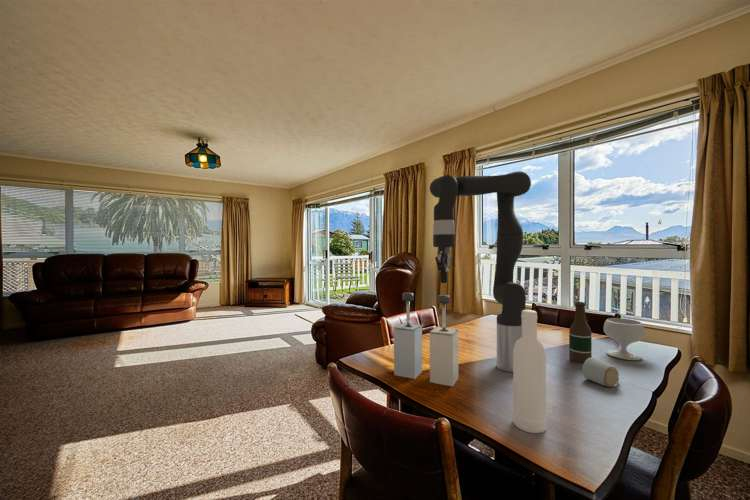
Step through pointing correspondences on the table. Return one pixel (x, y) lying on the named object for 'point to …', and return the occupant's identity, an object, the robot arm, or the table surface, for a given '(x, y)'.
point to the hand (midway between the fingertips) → (444, 282)
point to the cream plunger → (443, 308)
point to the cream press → (444, 356)
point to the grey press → (408, 350)
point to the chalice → (624, 336)
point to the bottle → (529, 377)
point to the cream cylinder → (600, 372)
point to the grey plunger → (408, 305)
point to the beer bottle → (580, 336)
